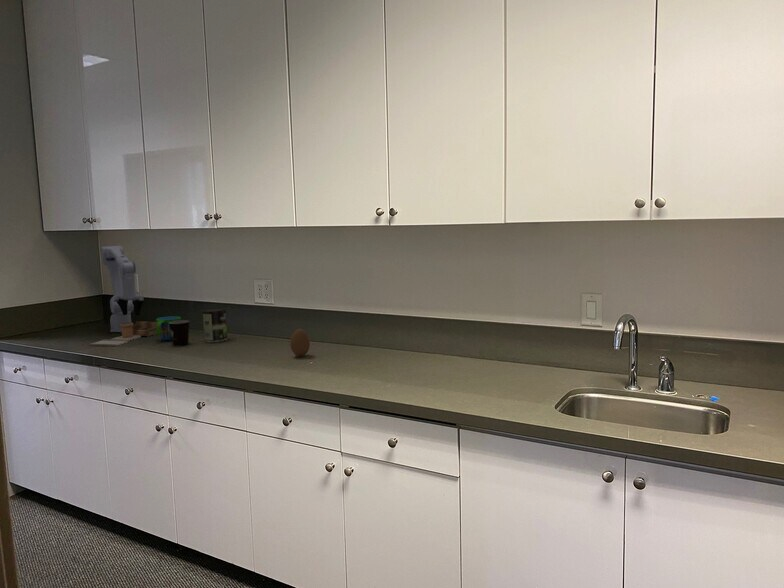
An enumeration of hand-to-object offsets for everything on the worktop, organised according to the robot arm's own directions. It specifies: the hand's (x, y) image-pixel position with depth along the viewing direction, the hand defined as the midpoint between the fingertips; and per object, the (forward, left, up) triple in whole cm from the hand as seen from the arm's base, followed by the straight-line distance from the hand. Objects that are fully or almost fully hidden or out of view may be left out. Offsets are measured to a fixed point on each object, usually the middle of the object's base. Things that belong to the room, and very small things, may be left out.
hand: (131, 315), depth 297 cm
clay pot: (+4, -8, -9) cm, 13 cm away
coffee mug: (+39, -14, -10) cm, 43 cm away
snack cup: (+26, -5, -10) cm, 28 cm away
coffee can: (+49, -2, -10) cm, 50 cm away
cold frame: (+3, +3, -10) cm, 11 cm away
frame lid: (+4, -20, -10) cm, 22 cm away
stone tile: (+4, -9, -10) cm, 14 cm away
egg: (+103, -22, -10) cm, 106 cm away
